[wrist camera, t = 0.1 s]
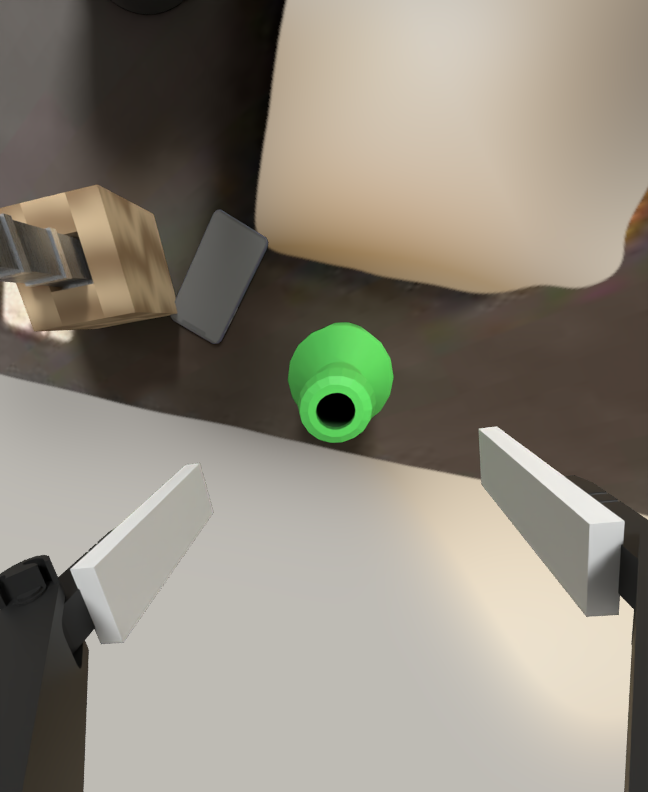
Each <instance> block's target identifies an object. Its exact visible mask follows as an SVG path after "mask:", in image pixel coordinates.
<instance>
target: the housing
mask: <svg viewBox="0 0 648 792" xmlns="http://www.w3.org/2000/svg"><path fill="white" fill-rule="evenodd" d="M3 213H4V214H7V215H10V216H11V217H12V220H15V221H19V222H22V223H26V224H29V225H32V226H36V227H39V228H43V229H45V228H49V227H50V228H53V229H56V232H57V233H60V234H63V235H67V236H70V237H74V238H77V239H80V242H81V245H82V248H83V251H84V254H85V257H86V260H87V264H88V267H89V270H90V273H91V276H92V279H93V282H94V284H89V285H85V286H80V287H75V288H70V289H65V290H62V287H53V286H44V285H39V286H34V287H28V286H26V285H25V284H24V283H16V284H17V287H18V289H19V292H20V295H21V297H22V300H23V303H24V305H25V308H26V311H27V313H28V316H29V319H30V322H31V324H32V327H33V330H34V331H56V330H78V329H99V328H104V327H109V326H115V325H120V324H126V323H131V322H136V321H142V320H147V319H152V318H158V317H163V316H168V315H171V314H177V309H176V305H175V300H176V297H175V293H174V289H173V285H172V281H171V278H170V274H169V270H168V266H167V263H166V259H165V255H164V251H163V248H162V244H161V240H160V236H159V232H158V229H157V225H156V221H155V217H154V214H152V213H150V212H148V211H147V210H145V209H143V208H141V207H139V206H137V205H135V204H133V203H131V202H129V201H128V200H126V199H124V198H122V197H120V196H118V195H116V194H114V193H112V192H111V191H109V190H107V189H105V188H103V187H101V186H99V185H93V186H89V187H85V188H81V189H77V190H73V191H69V192H64V193H60V194H56V195H52V196H48V197H44V198H40V199H36V200H32V201H28V202H23V203H19V204H15V205H11V206H7V207H3V208H0V214H3Z"/></svg>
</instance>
